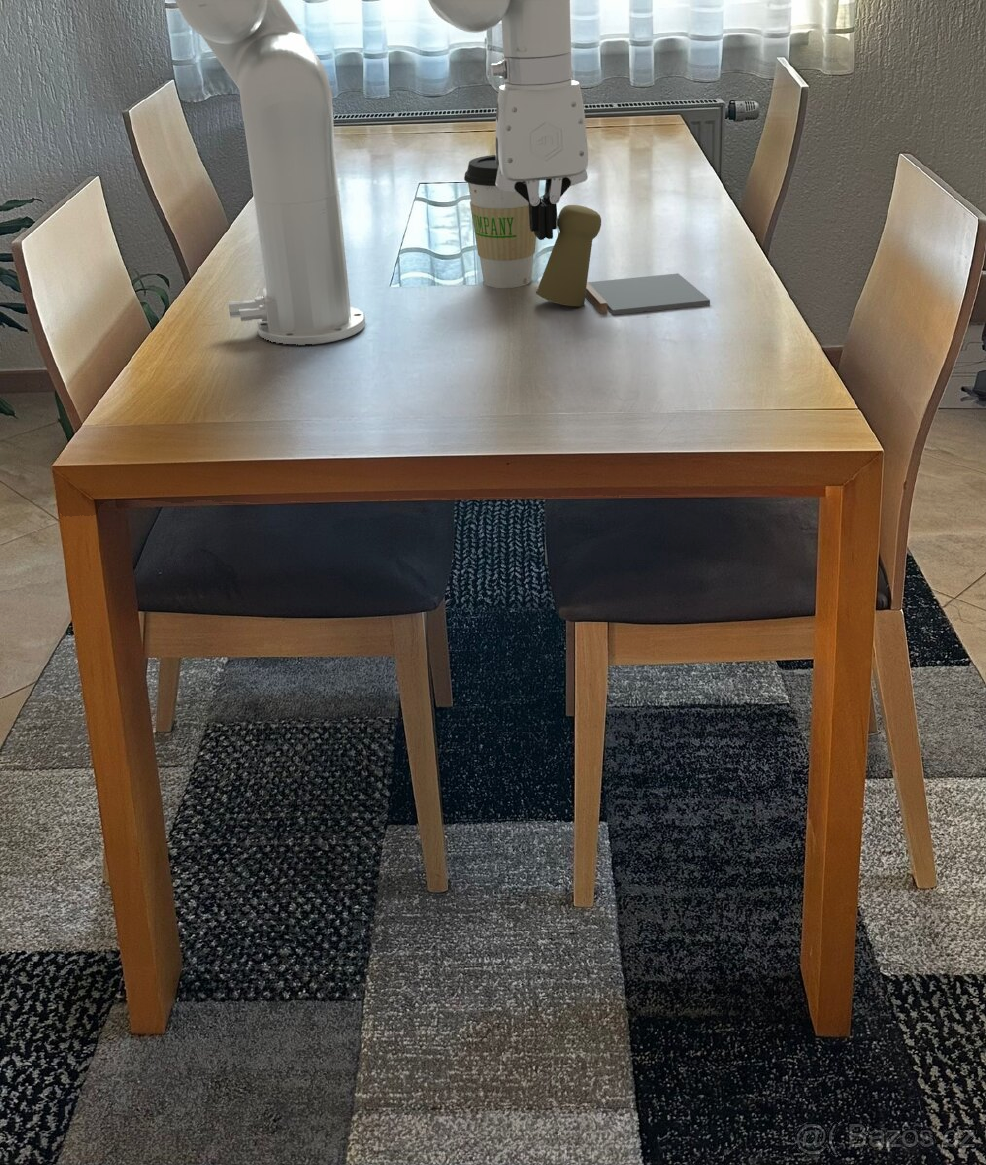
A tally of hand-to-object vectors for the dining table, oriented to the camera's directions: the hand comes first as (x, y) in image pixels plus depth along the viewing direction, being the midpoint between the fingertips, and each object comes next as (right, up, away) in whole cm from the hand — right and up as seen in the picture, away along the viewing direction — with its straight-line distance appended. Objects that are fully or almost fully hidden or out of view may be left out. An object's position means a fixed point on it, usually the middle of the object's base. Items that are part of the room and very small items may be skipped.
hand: (543, 236), depth 152 cm
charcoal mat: (+13, -6, +6) cm, 15 cm away
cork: (+2, -7, +4) cm, 8 cm away
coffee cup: (-4, -2, +14) cm, 15 cm away
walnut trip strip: (+6, -7, +5) cm, 10 cm away
